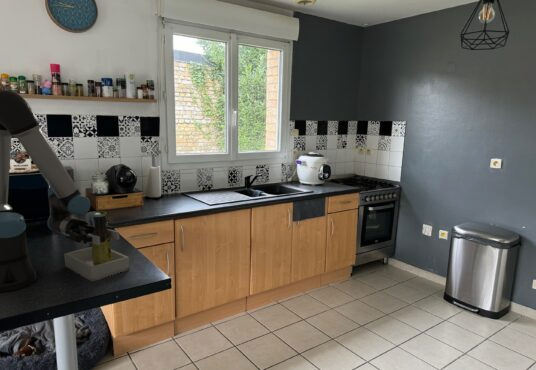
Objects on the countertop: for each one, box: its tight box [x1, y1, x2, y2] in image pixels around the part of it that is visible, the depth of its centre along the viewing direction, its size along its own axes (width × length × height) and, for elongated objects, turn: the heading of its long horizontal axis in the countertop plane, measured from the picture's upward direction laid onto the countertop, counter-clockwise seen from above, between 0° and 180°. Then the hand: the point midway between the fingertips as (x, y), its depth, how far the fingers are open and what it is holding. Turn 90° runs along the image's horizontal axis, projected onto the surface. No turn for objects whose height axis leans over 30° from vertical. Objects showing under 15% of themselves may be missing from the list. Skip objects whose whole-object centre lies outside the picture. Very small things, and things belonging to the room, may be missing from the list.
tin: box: [84, 211, 101, 248], centre depth 164 cm, size 6×6×15 cm
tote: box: [63, 247, 130, 283], centre depth 141 cm, size 22×14×5 cm, turn 49°
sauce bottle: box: [92, 214, 112, 266], centre depth 136 cm, size 6×6×20 cm
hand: (108, 238), depth 133 cm, fingers open, 7 cm apart
